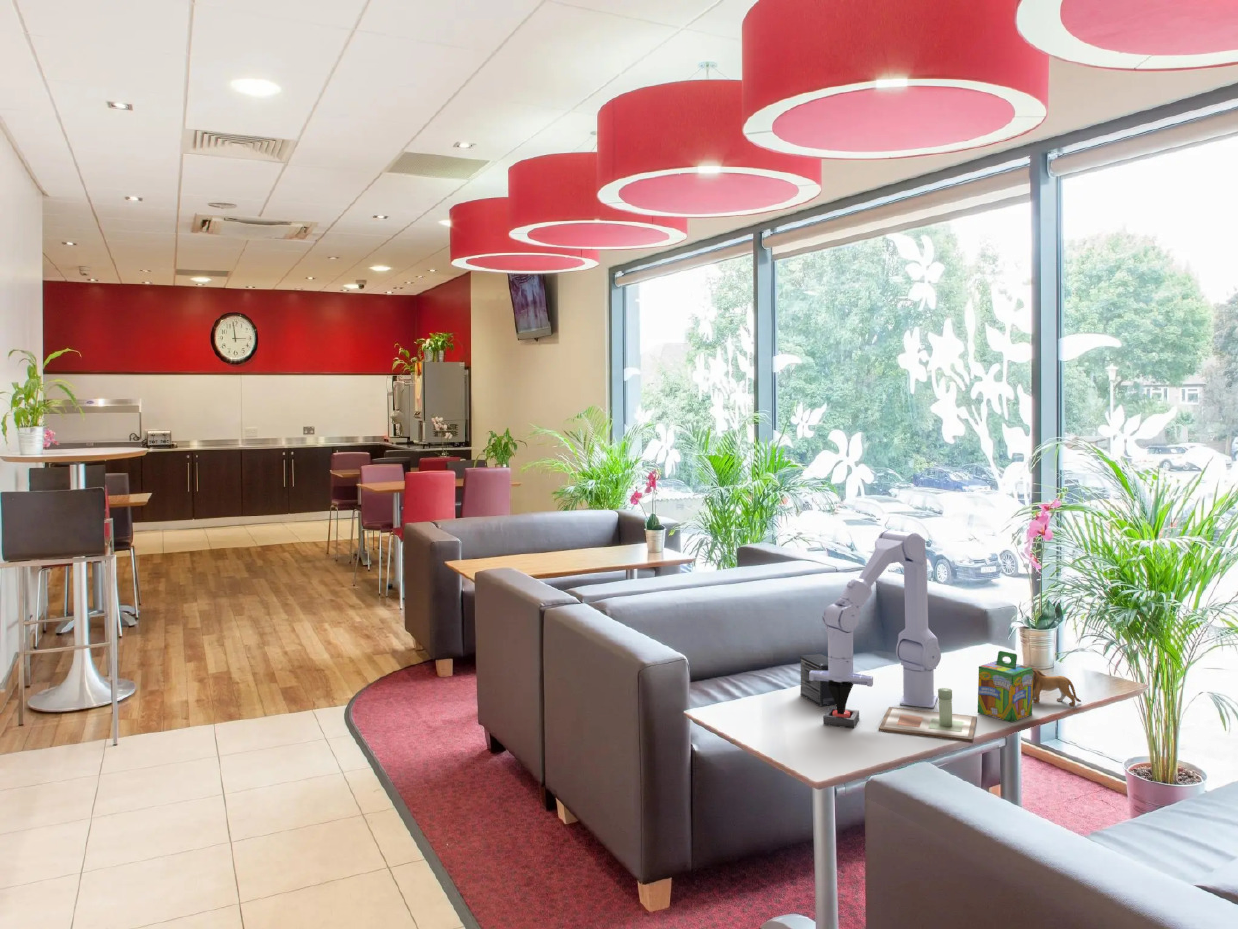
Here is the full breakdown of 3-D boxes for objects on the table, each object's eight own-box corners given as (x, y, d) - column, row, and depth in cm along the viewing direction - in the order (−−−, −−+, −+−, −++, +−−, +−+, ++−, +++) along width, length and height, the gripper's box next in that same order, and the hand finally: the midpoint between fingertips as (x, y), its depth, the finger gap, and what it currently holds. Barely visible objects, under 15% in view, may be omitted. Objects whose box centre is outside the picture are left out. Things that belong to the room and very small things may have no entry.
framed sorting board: (889, 709, 222) (888, 706, 222) (976, 719, 214) (976, 715, 214) (878, 730, 208) (878, 727, 208) (972, 742, 199) (972, 738, 199)
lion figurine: (1018, 704, 224) (1018, 668, 223) (1014, 697, 229) (1014, 662, 228) (1083, 707, 220) (1084, 670, 220) (1078, 700, 226) (1078, 664, 225)
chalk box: (976, 713, 218) (976, 652, 217) (997, 705, 223) (997, 646, 222) (1013, 723, 210) (1013, 660, 209) (1034, 715, 216) (1034, 653, 215)
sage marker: (939, 722, 210) (938, 687, 210) (953, 723, 209) (952, 688, 209) (938, 726, 207) (937, 691, 207) (952, 727, 206) (951, 692, 206)
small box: (843, 704, 227) (843, 662, 226) (820, 707, 225) (820, 665, 224) (821, 692, 237) (821, 652, 236) (799, 695, 235) (798, 655, 234)
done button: (834, 716, 217) (834, 709, 217) (851, 718, 215) (851, 711, 215) (831, 721, 213) (831, 714, 213) (848, 723, 211) (848, 716, 211)
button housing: (829, 715, 219) (829, 707, 219) (859, 719, 216) (859, 710, 216) (823, 724, 212) (823, 716, 212) (853, 728, 209) (853, 720, 209)
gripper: (805, 657, 213) (806, 714, 213) (869, 663, 207) (869, 722, 207) (812, 650, 219) (813, 705, 220) (874, 655, 213) (874, 712, 214)
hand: (841, 713), depth 214 cm, fingers closed, pressing on done button
